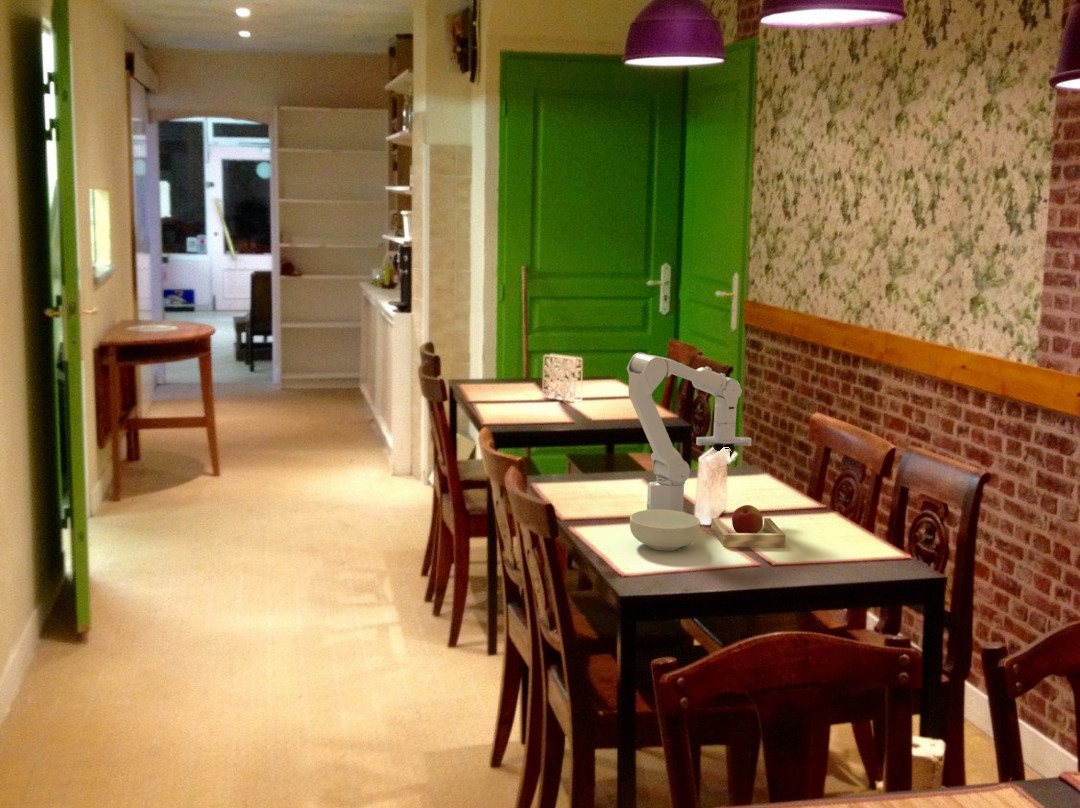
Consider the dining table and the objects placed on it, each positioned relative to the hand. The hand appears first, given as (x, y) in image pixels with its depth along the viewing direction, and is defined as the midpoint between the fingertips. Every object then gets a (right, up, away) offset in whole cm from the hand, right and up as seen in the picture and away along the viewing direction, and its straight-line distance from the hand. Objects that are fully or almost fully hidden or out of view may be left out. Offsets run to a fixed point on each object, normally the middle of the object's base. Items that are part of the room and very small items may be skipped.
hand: (722, 471), depth 341 cm
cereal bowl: (-19, -16, -34) cm, 42 cm away
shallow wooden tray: (+2, -15, -25) cm, 29 cm away
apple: (+3, -15, -24) cm, 28 cm away
